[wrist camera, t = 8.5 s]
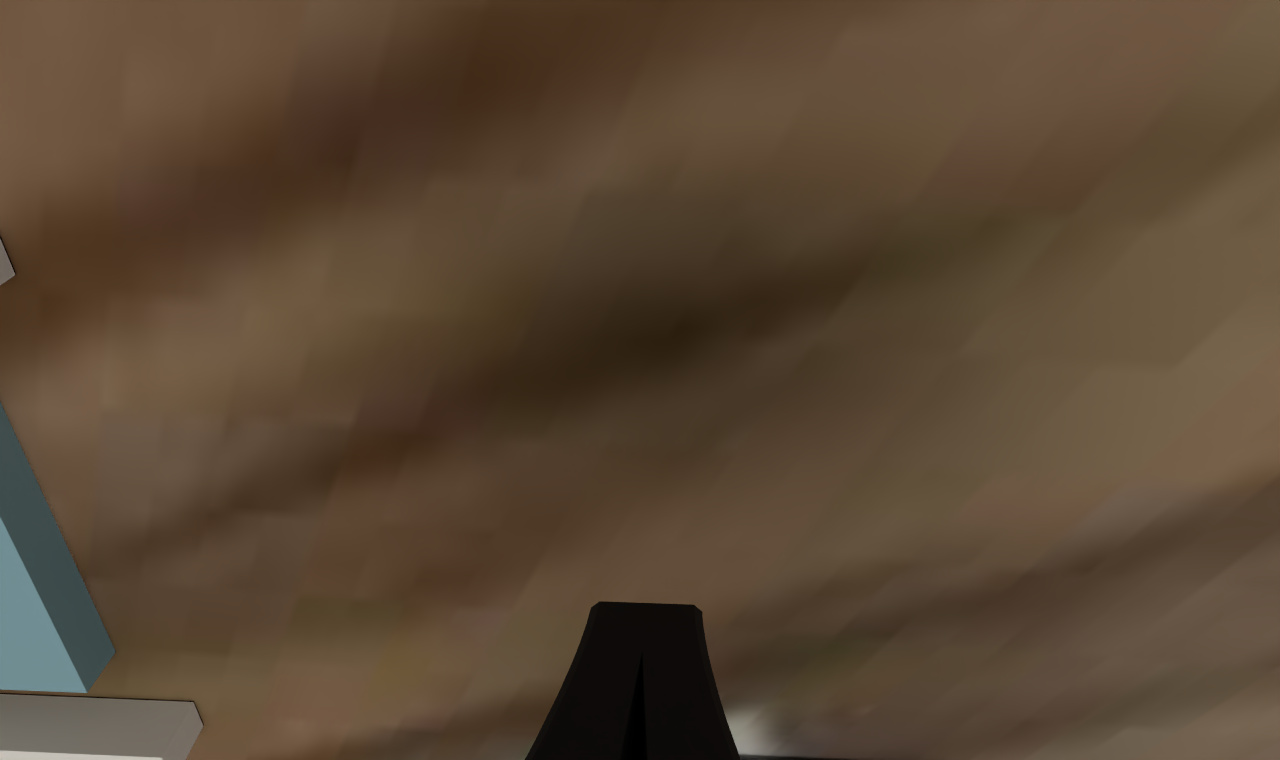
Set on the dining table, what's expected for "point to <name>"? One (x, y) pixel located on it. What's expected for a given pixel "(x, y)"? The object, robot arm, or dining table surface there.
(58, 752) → the rack
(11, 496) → the rectangular block
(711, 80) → the dining table surface
